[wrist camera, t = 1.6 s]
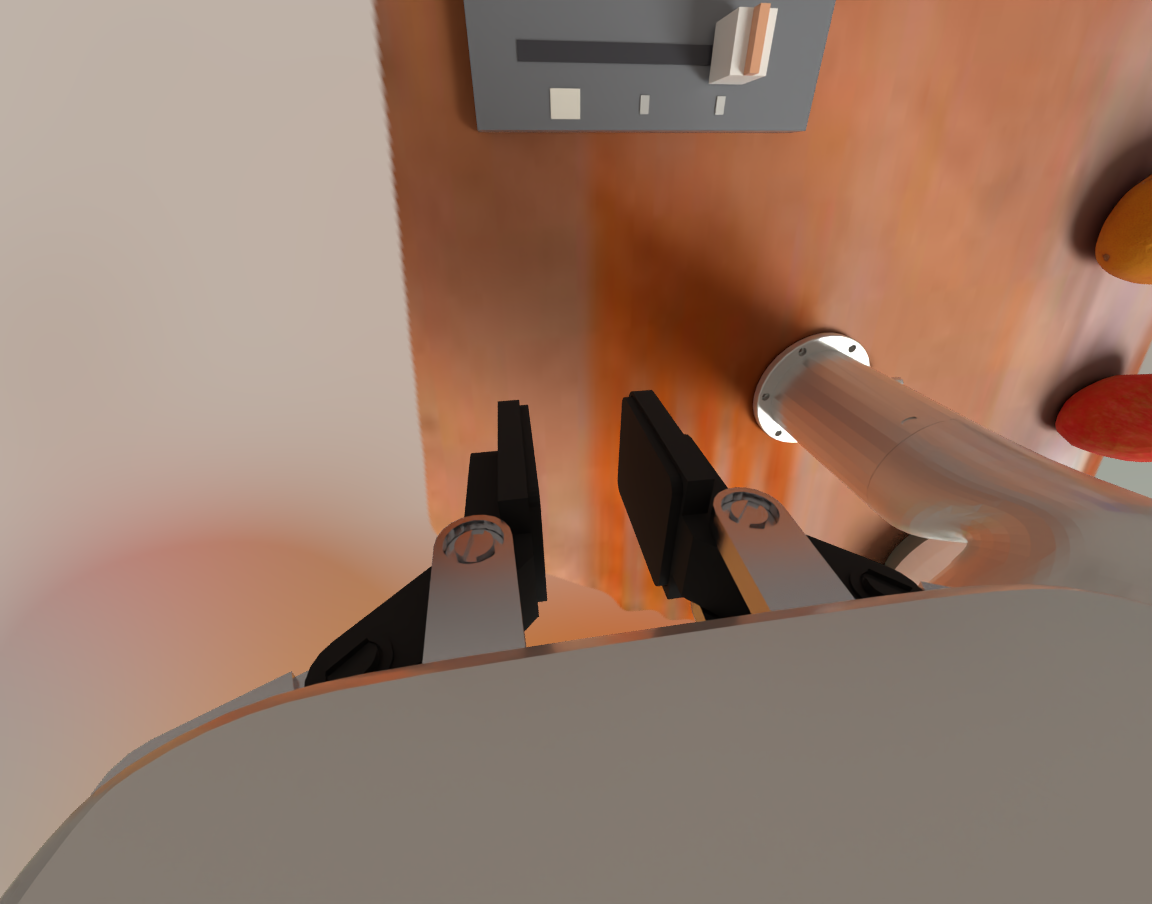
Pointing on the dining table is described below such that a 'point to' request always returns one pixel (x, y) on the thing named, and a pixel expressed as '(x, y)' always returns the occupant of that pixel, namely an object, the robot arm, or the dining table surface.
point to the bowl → (923, 557)
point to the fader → (742, 45)
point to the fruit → (1129, 236)
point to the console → (636, 66)
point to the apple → (1111, 418)
